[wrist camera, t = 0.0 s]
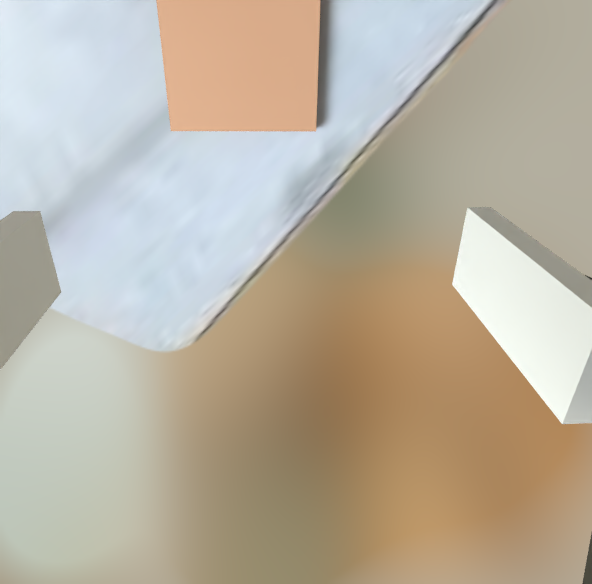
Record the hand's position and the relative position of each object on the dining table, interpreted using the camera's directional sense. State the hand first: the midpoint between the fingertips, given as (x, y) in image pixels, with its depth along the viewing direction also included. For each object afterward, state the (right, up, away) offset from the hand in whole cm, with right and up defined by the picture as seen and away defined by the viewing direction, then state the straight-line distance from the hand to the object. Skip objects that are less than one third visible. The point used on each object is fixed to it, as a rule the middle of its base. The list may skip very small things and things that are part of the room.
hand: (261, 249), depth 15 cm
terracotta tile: (-3, +18, +22) cm, 28 cm away
